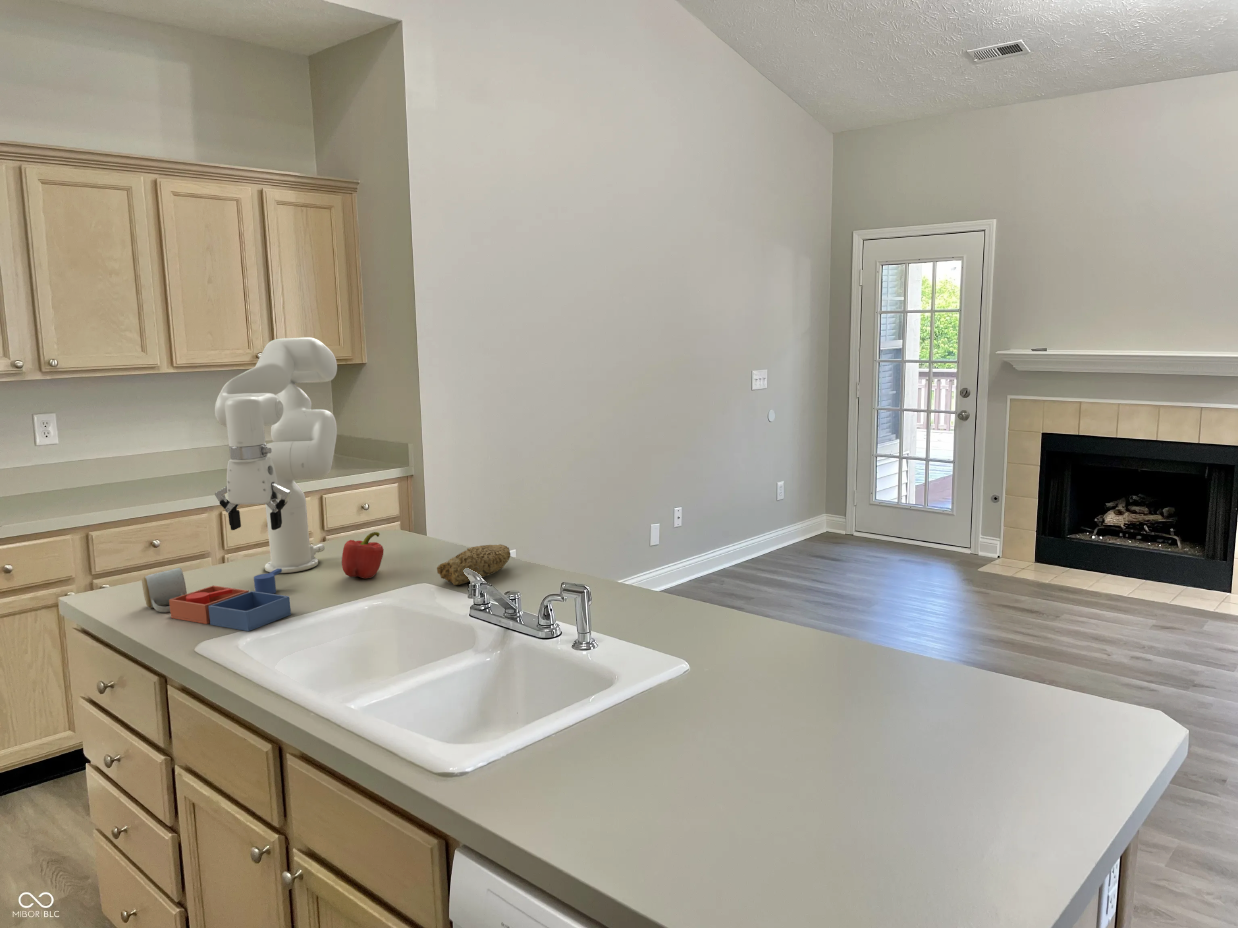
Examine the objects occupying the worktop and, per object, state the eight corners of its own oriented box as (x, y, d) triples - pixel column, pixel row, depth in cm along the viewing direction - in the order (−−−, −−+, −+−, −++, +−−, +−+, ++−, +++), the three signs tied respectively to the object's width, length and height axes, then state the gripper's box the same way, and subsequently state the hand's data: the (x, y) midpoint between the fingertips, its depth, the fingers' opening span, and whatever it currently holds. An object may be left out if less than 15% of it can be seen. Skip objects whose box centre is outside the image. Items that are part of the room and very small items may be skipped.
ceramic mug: (143, 604, 201) (139, 570, 200) (184, 596, 206) (180, 564, 204) (149, 617, 193) (145, 582, 191) (191, 609, 197) (188, 574, 196)
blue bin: (253, 608, 195) (252, 590, 195) (291, 614, 190) (289, 596, 190) (210, 624, 185) (208, 605, 185) (248, 631, 180) (246, 611, 180)
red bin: (215, 602, 201) (213, 585, 200) (250, 608, 196) (248, 590, 195) (171, 617, 191) (168, 599, 190) (206, 624, 186) (204, 605, 185)
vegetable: (369, 567, 225) (365, 528, 224) (397, 573, 219) (394, 532, 218) (332, 578, 216) (328, 537, 215) (360, 584, 210) (356, 542, 209)
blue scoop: (270, 595, 204) (268, 578, 204) (251, 595, 205) (249, 578, 204) (289, 584, 213) (288, 567, 213) (272, 584, 214) (270, 567, 213)
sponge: (463, 594, 204) (531, 559, 216) (452, 562, 202) (520, 528, 215) (434, 593, 214) (500, 559, 226) (423, 563, 212) (490, 530, 225)
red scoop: (191, 618, 189) (189, 599, 188) (184, 613, 192) (182, 595, 191) (236, 607, 195) (235, 589, 194) (229, 603, 198) (227, 585, 197)
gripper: (293, 449, 203) (300, 524, 206) (221, 451, 206) (229, 525, 209) (276, 455, 196) (284, 532, 199) (202, 456, 198) (210, 532, 201)
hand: (256, 528), depth 204 cm, fingers open, 9 cm apart
